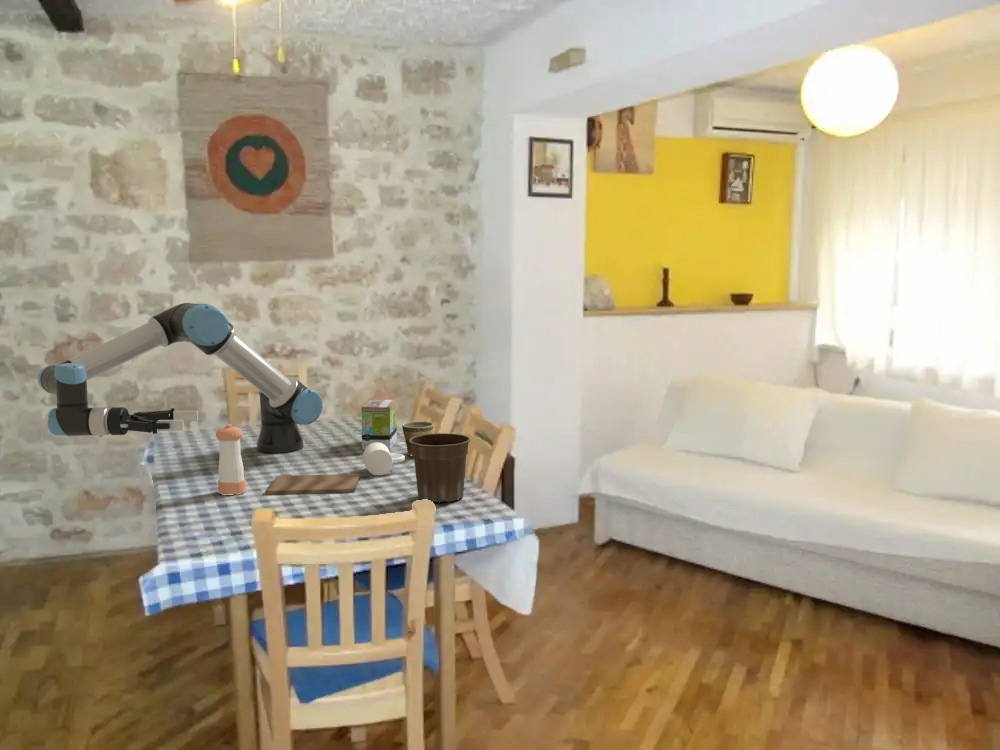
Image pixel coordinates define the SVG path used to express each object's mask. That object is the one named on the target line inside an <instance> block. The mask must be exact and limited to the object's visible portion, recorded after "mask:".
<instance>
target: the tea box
mask: <svg viewBox="0 0 1000 750" xmlns="http://www.w3.org/2000/svg"><path fill="white" fill-rule="evenodd" d="M397 414H398V413H397V400H396V399H369V400H367V401H366V402H365V403H364V404H363V405H362V406H361V450H365V449H366V447H367V446H368V445H370V444H372V443H376V442H378V443H382V444H384V445H385V446H386V447H387V448H388V450H389V451H390V450H391V449H392V447H393V446H394V445H395V443H396V442H397V439H398V435H397V434H398V433H397V432H398V431H397V430H398V427H397V422H398V421H397V420H398V419H397V418H398V417H397Z"/></svg>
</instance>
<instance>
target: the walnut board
mask: <svg viewBox="0 0 1000 750" xmlns="http://www.w3.org/2000/svg"><path fill="white" fill-rule="evenodd" d="M360 478H361V474H360V473H340V474H339V473H337V474H335V473H334V474H301V475H299V474H298V475H276V477H275V478H274V480H273V481H272V482H271V483H270V485H269V486H268V487H267V489H266V490H265V494H267V495H296V494H297V495H299V494H300V495H301V494H302V495H303V494H333V493H334V494H335V493H337V494H339V493H342V494H343V493H355V491H356V489H357V487H358V483H359V482H360Z"/></svg>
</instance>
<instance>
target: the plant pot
mask: <svg viewBox="0 0 1000 750" xmlns="http://www.w3.org/2000/svg"><path fill="white" fill-rule="evenodd" d="M409 442H410V443H411V446H412V454H413V456H414V457H413V460H414V469H415V470H414V471H415V478H416V480H415V481H416V488H417V497H418V499H419V500H420V499H428V500H431V501H433V502H439V503H438V504H441V503H443V502H446V503H451V502H450V501H454V502H456V501H455V500H458V499H460V498H462V497H463V498H464V492H465V490H464V489H465V479H466V478H465V477H466V466H467V455H468V453H469V443H470V442H471V437H470V436H468V435H464V434H458V433H449V432H448V433H447V432H446V433H443V432H441V433H440V432H439V433H437V432H436V433H432V434H425V435H419V436H415V437H412V438H410V440H409ZM463 498H462V499H463ZM460 500H461V499H460ZM458 501H459V500H458ZM440 502H441V503H440Z"/></svg>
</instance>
